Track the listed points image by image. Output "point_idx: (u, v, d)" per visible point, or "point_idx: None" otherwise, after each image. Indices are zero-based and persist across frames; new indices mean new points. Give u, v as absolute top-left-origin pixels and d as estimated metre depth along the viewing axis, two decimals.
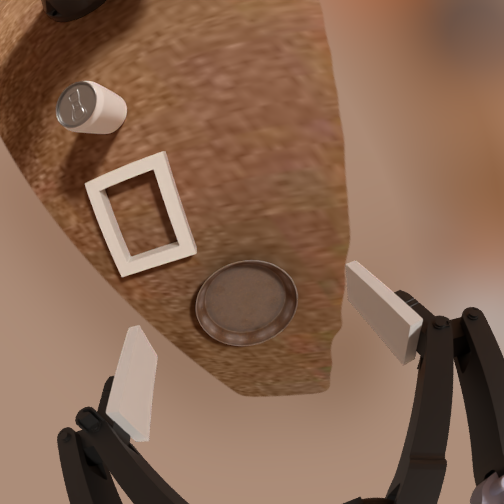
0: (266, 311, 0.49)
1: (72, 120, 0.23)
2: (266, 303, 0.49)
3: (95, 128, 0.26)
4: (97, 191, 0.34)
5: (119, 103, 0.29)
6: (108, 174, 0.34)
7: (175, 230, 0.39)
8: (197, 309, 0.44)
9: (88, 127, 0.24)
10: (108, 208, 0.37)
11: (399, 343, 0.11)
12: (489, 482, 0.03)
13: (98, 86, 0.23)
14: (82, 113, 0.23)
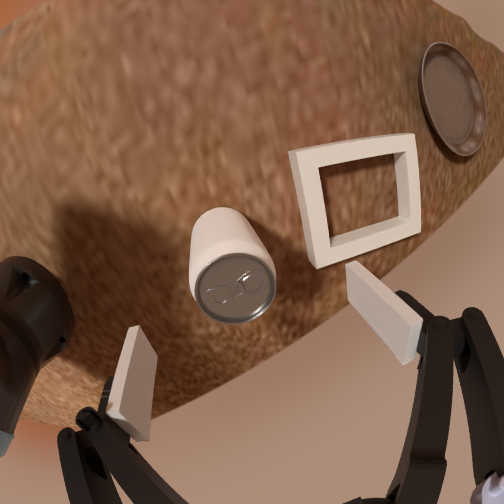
0: (457, 81, 0.26)
1: (261, 292, 0.19)
2: (451, 78, 0.26)
3: None
4: (330, 250, 0.29)
5: (218, 217, 0.24)
6: (313, 233, 0.28)
7: (390, 151, 0.26)
8: (458, 152, 0.28)
9: (273, 263, 0.20)
10: (349, 236, 0.31)
11: (399, 343, 0.11)
12: (489, 482, 0.03)
13: (204, 252, 0.18)
14: (254, 276, 0.18)
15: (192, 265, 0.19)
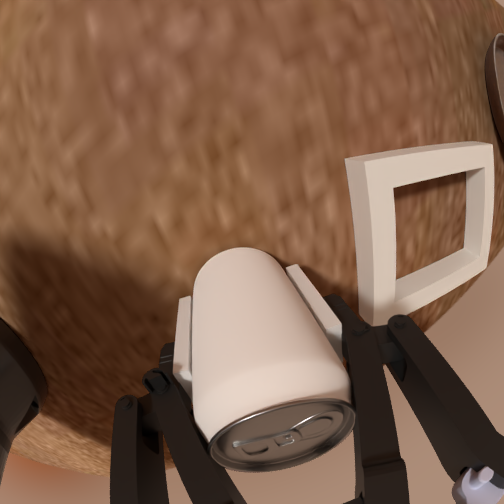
0: None
1: (327, 433, 0.09)
2: None
3: None
4: (393, 305, 0.19)
5: (239, 275, 0.14)
6: (376, 285, 0.18)
7: (471, 167, 0.16)
8: None
9: (350, 381, 0.09)
10: (414, 282, 0.20)
11: None
12: (467, 479, 0.04)
13: (224, 386, 0.08)
14: (321, 419, 0.08)
15: (199, 400, 0.08)
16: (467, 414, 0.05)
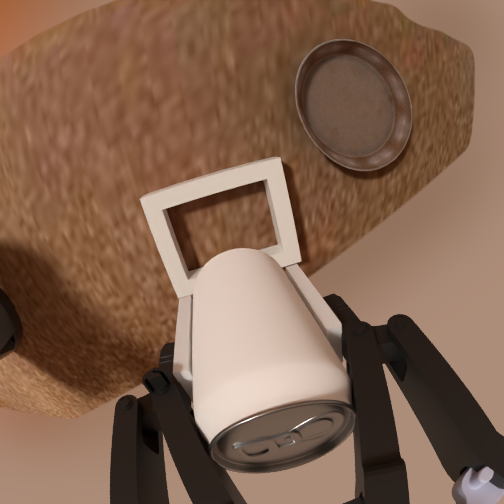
0: (368, 81, 0.28)
1: (327, 434, 0.09)
2: (358, 79, 0.28)
3: None
4: (188, 282, 0.32)
5: (240, 276, 0.14)
6: (167, 267, 0.31)
7: (245, 182, 0.29)
8: (358, 168, 0.31)
9: None
10: None
11: None
12: (467, 479, 0.04)
13: (225, 388, 0.08)
14: (321, 421, 0.08)
15: (199, 401, 0.08)
16: (467, 414, 0.05)
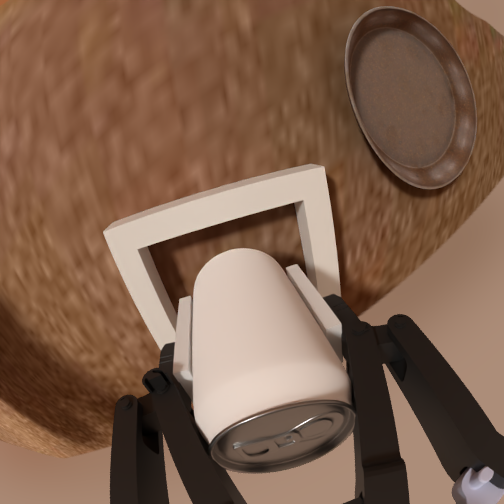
0: (427, 68, 0.18)
1: (328, 434, 0.09)
2: (416, 64, 0.17)
3: None
4: None
5: (240, 276, 0.14)
6: (152, 330, 0.20)
7: (269, 206, 0.18)
8: (422, 185, 0.20)
9: None
10: None
11: None
12: (467, 479, 0.04)
13: (225, 388, 0.08)
14: (321, 421, 0.08)
15: (200, 401, 0.08)
16: (467, 414, 0.05)
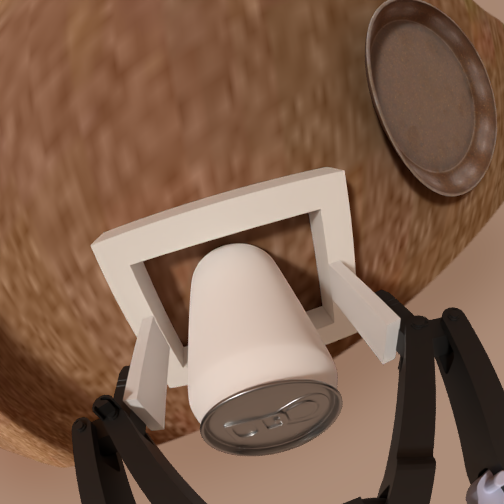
0: (447, 65, 0.15)
1: (314, 417, 0.09)
2: (436, 60, 0.15)
3: None
4: (183, 370, 0.19)
5: (234, 268, 0.15)
6: None
7: (281, 216, 0.16)
8: (445, 192, 0.17)
9: None
10: None
11: (378, 342, 0.11)
12: (483, 480, 0.03)
13: (216, 367, 0.09)
14: (307, 402, 0.09)
15: (193, 382, 0.09)
16: (498, 413, 0.04)
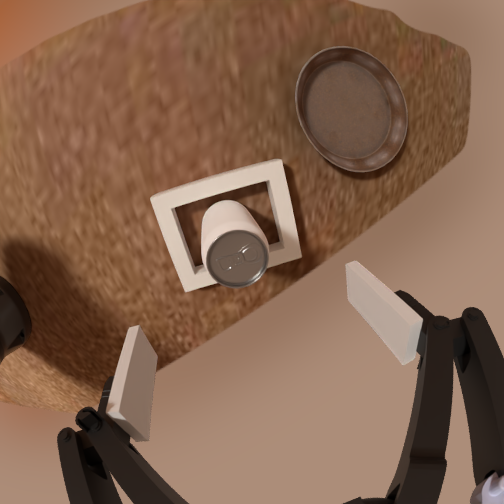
0: (365, 86, 0.30)
1: (257, 262, 0.25)
2: (356, 85, 0.30)
3: None
4: (195, 277, 0.34)
5: (224, 206, 0.30)
6: (175, 263, 0.33)
7: (248, 183, 0.31)
8: (355, 169, 0.33)
9: (266, 240, 0.25)
10: None
11: (399, 343, 0.11)
12: (489, 482, 0.03)
13: (214, 230, 0.24)
14: (251, 249, 0.24)
15: (204, 241, 0.25)
16: None
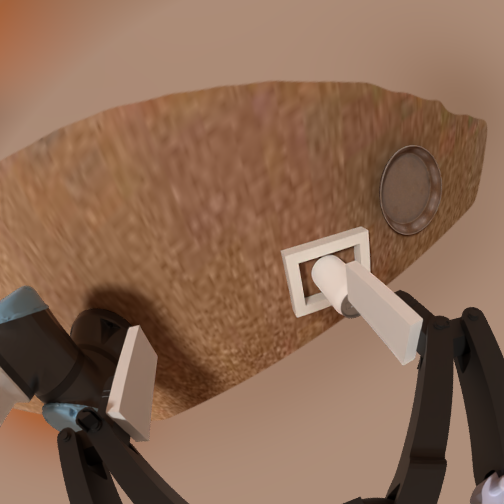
0: (418, 171, 0.45)
1: None
2: (412, 170, 0.45)
3: None
4: (305, 307, 0.49)
5: (335, 263, 0.45)
6: (294, 299, 0.48)
7: (348, 246, 0.46)
8: (407, 233, 0.47)
9: None
10: (318, 297, 0.50)
11: (399, 343, 0.11)
12: (489, 482, 0.03)
13: (345, 286, 0.39)
14: None
15: (337, 292, 0.39)
16: None
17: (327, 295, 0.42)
